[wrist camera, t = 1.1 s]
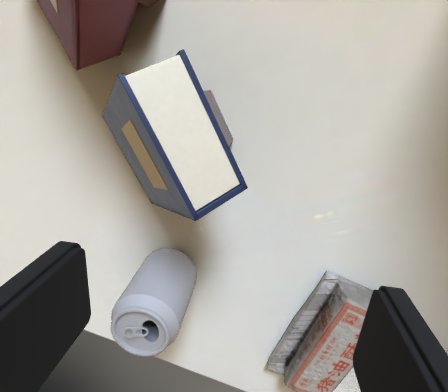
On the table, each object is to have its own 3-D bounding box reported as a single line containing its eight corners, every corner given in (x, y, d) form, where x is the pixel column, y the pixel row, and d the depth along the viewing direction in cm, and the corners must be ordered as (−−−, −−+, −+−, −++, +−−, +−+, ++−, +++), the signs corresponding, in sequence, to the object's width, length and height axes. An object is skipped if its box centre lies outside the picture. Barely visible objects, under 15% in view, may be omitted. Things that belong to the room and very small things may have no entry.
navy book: (184, 49, 21) (116, 75, 19) (248, 187, 24) (194, 221, 22) (143, 98, 35) (101, 116, 33) (187, 183, 37) (151, 203, 36)
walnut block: (210, 89, 33) (198, 91, 27) (233, 139, 35) (226, 152, 29) (190, 99, 34) (174, 103, 28) (214, 148, 36) (203, 162, 29)
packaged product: (333, 291, 35) (411, 324, 35) (325, 267, 39) (394, 297, 40) (265, 389, 41) (332, 417, 42) (265, 359, 46) (325, 384, 46)
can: (198, 293, 43) (175, 367, 32) (147, 288, 44) (107, 358, 33) (198, 247, 40) (173, 309, 29) (143, 242, 41) (99, 301, 30)
